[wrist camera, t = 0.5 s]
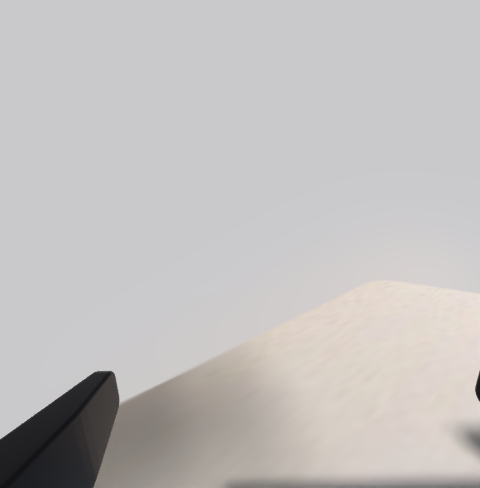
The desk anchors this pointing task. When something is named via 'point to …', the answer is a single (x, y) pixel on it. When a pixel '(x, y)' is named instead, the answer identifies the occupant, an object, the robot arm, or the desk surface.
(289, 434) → the desk surface
